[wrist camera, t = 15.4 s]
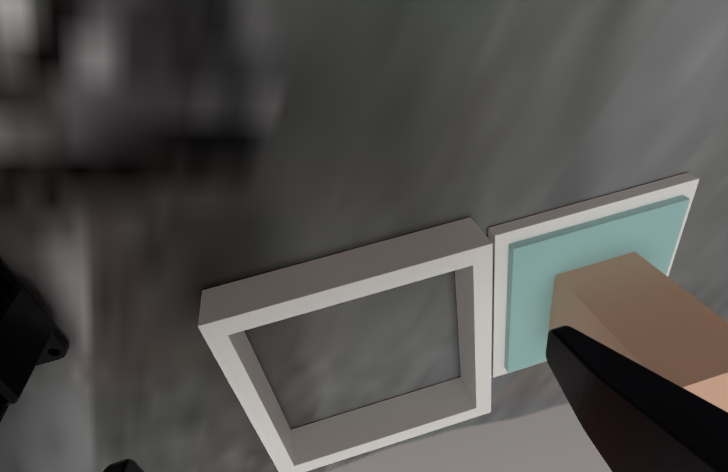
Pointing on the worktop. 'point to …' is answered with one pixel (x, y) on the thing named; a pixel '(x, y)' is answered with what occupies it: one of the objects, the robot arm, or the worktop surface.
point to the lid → (575, 257)
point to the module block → (647, 322)
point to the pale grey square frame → (344, 283)
